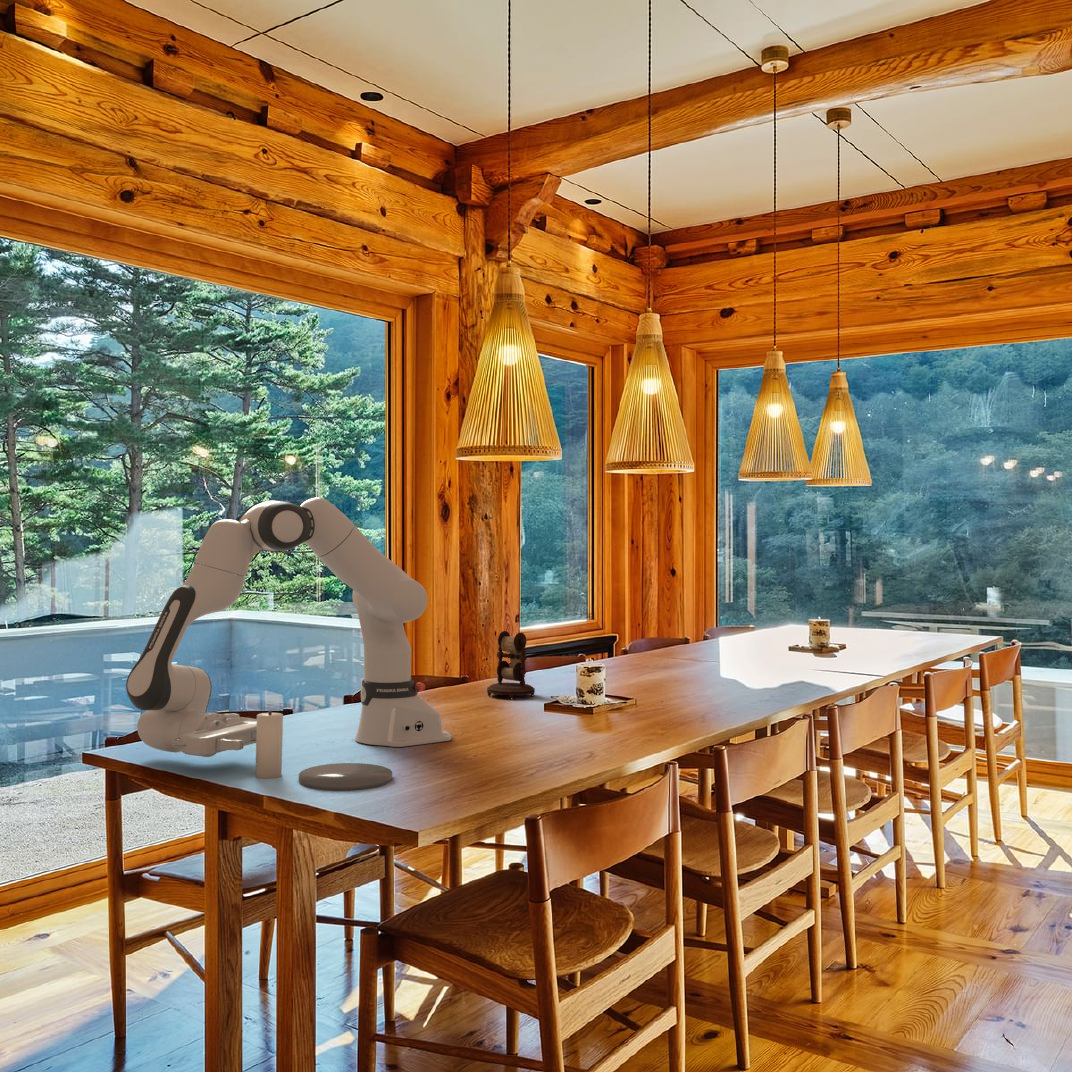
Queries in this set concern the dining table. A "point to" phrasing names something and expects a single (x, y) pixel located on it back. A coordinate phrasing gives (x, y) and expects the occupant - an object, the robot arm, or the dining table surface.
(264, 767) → the candle
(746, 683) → the dining table surface
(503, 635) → the double spool stand
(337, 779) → the plate
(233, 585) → the robot arm
